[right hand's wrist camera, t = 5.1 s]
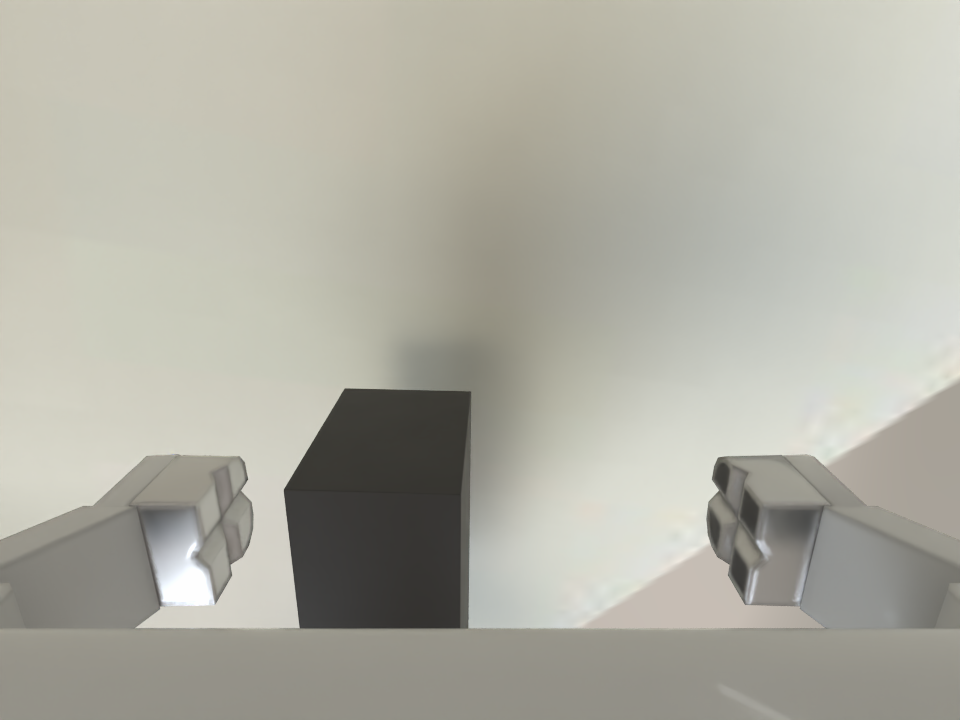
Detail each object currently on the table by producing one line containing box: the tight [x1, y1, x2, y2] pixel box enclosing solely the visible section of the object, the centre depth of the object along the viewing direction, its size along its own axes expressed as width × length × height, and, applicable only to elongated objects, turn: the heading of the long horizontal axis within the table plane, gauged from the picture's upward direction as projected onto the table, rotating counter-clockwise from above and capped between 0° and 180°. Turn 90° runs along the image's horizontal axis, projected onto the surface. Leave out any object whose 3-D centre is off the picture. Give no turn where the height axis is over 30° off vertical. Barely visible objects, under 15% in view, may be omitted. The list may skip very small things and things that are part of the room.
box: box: [284, 389, 471, 628], centre depth 29 cm, size 23×6×9 cm, turn 179°
